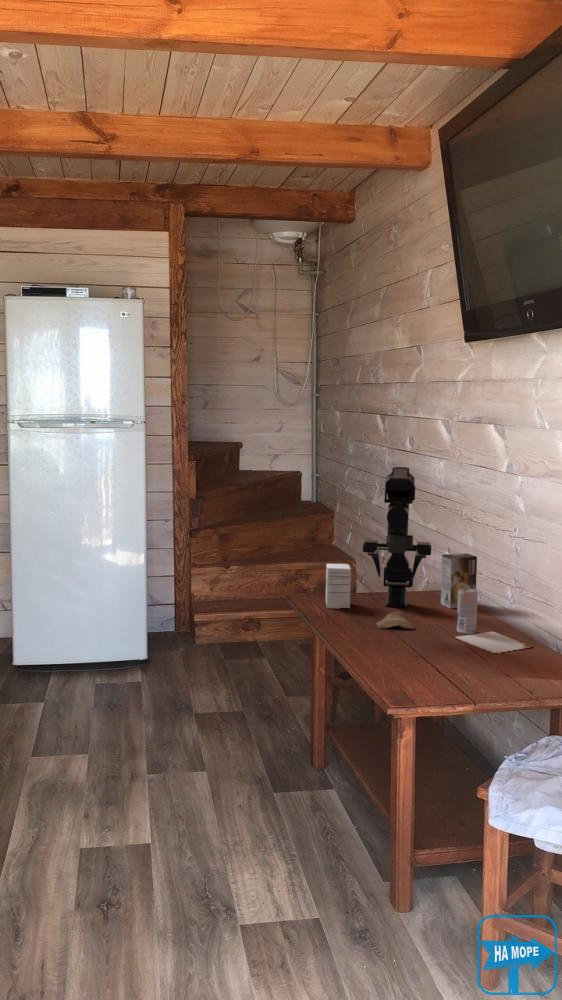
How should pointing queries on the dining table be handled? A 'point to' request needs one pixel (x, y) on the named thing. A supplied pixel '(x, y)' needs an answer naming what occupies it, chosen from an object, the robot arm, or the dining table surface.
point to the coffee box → (457, 576)
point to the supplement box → (338, 585)
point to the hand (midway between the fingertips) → (395, 577)
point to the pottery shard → (395, 621)
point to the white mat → (492, 642)
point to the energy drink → (467, 611)
